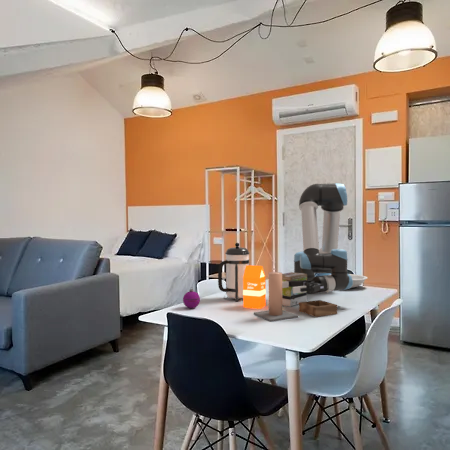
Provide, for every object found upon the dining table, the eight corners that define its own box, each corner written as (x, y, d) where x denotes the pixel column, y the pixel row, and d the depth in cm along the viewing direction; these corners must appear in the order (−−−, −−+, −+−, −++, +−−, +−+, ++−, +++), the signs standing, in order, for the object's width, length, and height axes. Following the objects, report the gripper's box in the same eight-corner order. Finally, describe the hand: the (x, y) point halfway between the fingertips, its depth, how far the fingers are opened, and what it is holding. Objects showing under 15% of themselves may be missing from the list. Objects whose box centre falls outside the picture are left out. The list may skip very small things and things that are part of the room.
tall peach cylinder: (266, 313, 176) (265, 272, 176) (277, 311, 178) (277, 271, 178) (273, 316, 170) (273, 274, 170) (285, 314, 173) (284, 273, 173)
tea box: (291, 307, 191) (291, 276, 191) (274, 304, 198) (273, 274, 197) (307, 302, 202) (307, 273, 202) (290, 299, 209) (290, 271, 208)
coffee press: (225, 295, 220) (224, 241, 219) (253, 296, 217) (253, 241, 216) (218, 302, 203) (217, 243, 202) (249, 303, 200) (248, 243, 199)
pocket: (298, 311, 182) (298, 302, 182) (319, 308, 188) (319, 299, 187) (315, 317, 172) (315, 307, 171) (337, 313, 177) (337, 304, 177)
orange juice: (249, 304, 198) (248, 264, 198) (265, 305, 194) (265, 265, 194) (243, 307, 191) (242, 266, 191) (260, 309, 187) (259, 266, 187)
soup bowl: (370, 291, 228) (370, 280, 228) (327, 290, 232) (327, 279, 232) (363, 284, 251) (363, 274, 251) (324, 283, 256) (324, 273, 256)
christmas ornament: (183, 310, 187) (183, 289, 186) (182, 306, 195) (182, 286, 194) (201, 309, 188) (200, 288, 188) (199, 305, 196) (198, 285, 196)
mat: (253, 314, 178) (253, 312, 178) (280, 310, 184) (280, 309, 184) (270, 321, 165) (270, 319, 165) (298, 317, 171) (298, 315, 171)
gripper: (341, 296, 174) (301, 301, 165) (306, 287, 197) (269, 291, 188) (341, 279, 174) (301, 283, 165) (306, 272, 197) (269, 275, 188)
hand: (284, 287), depth 177 cm, fingers open, 13 cm apart
